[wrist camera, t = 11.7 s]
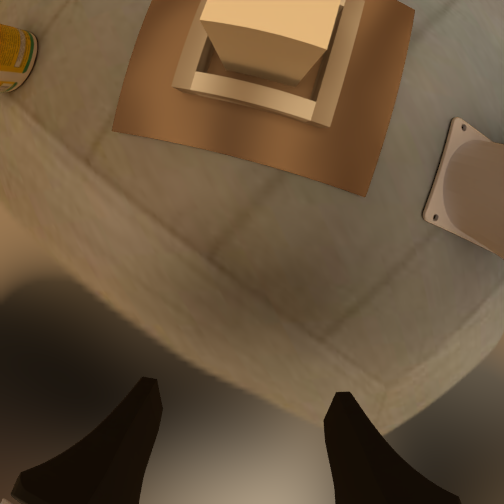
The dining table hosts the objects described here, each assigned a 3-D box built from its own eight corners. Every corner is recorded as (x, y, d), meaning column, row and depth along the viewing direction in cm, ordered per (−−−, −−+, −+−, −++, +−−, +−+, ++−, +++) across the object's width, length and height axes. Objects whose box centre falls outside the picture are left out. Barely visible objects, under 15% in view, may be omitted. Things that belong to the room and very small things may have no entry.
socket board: (408, 14, 13) (432, -2, 9) (359, 194, 18) (380, 207, 15) (181, -46, 11) (169, -71, 8) (118, 130, 16) (91, 132, 13)
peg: (312, 29, 13) (350, -36, 6) (294, 87, 14) (327, 49, 7) (244, 12, 13) (235, -63, 5) (225, 69, 14) (199, 19, 7)
